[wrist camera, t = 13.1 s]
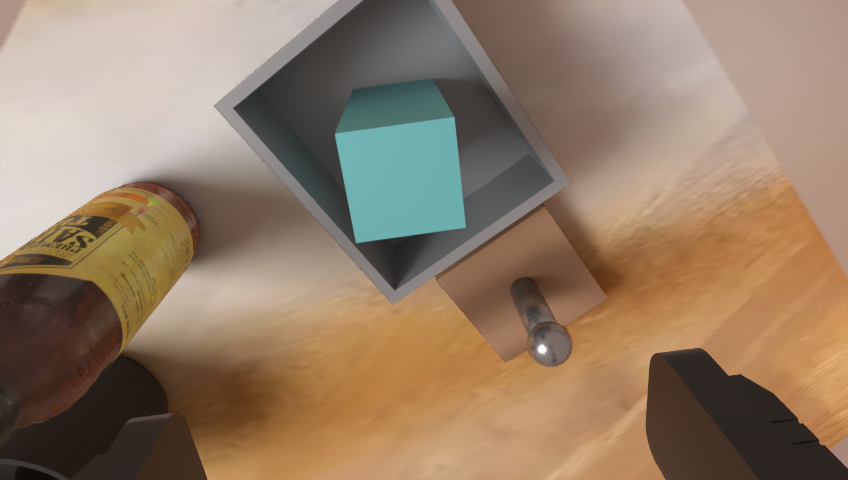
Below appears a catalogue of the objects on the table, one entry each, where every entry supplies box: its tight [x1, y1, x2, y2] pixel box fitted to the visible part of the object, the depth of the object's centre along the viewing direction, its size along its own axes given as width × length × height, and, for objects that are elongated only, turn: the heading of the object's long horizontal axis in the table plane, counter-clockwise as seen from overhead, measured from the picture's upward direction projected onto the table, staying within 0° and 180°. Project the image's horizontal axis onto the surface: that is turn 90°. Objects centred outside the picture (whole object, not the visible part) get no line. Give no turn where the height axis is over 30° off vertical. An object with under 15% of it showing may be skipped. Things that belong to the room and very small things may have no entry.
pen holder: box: [0, 355, 167, 480], centre depth 33 cm, size 9×9×10 cm
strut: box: [335, 79, 466, 243], centre depth 26 cm, size 4×4×11 cm
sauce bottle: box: [0, 183, 200, 447], centre depth 24 cm, size 7×6×20 cm
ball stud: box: [510, 277, 573, 367], centre depth 31 cm, size 2×2×7 cm
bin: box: [214, 0, 571, 305], centre depth 28 cm, size 13×11×6 cm
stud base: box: [436, 203, 608, 363], centre depth 35 cm, size 8×8×2 cm
